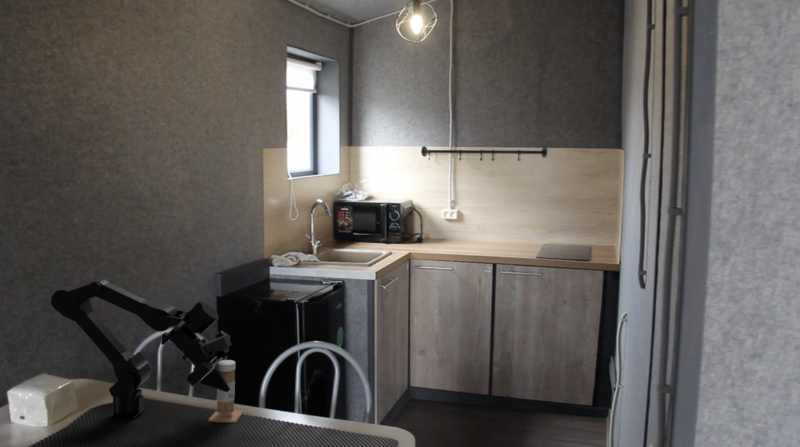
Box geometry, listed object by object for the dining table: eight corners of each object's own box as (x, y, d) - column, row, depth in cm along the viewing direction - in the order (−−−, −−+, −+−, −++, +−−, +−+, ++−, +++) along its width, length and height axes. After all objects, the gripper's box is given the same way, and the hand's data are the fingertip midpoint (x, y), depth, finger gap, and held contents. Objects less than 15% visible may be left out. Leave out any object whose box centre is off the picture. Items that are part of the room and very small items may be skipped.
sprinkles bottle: (228, 407, 161) (229, 358, 160) (237, 412, 157) (238, 362, 157) (213, 411, 157) (214, 361, 156) (222, 416, 154) (223, 365, 153)
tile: (208, 421, 154) (208, 419, 154) (217, 411, 161) (217, 409, 161) (235, 422, 154) (235, 421, 154) (243, 412, 161) (243, 410, 161)
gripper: (200, 333, 146) (244, 379, 147) (222, 316, 165) (261, 356, 166) (168, 363, 147) (211, 408, 148) (193, 342, 165) (232, 383, 166)
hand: (231, 387), depth 157 cm, fingers closed on sprinkles bottle, 4 cm apart
